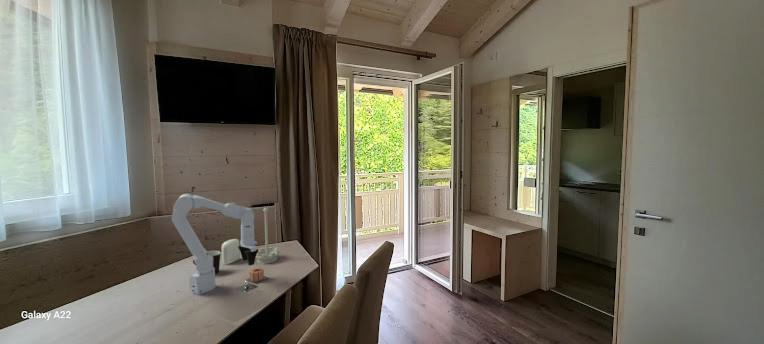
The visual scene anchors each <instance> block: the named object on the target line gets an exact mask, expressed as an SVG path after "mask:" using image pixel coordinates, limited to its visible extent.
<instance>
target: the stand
mask: <svg viewBox="0 0 764 344" xmlns="http://www.w3.org/2000/svg"><path fill="white" fill-rule="evenodd" d="M258 287H259V286H258V285H257V284H254V283H251V282H249V281H248V280H247V279H245V280H244V284H243V285H241V286H238V287H236V288H235V290H237V291H238V292H243V293H244V294H245V293H247V292H250V291H252V290H254V289H257V288H258Z"/></svg>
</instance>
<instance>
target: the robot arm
mask: <svg viewBox="0 0 764 344" xmlns="http://www.w3.org/2000/svg"><path fill="white" fill-rule="evenodd" d="M193 207H194V209H198V208H207V209H212V210H215V211H219V212H222V214H223V215H224V216H226V217H229V218H230V217H231V218H233V219H239V220H240V222H241V224H240V240H239V245H240V246H238V248H239V250H240V256H241V257H242V258H241V259H242V261H243V262H245V261H247V263H248V266H254V265H255V262H256V259H257V258H256V255H257V253H258V251H259V248H257V246H256V245H257V244H258V242H257V241H256V240H255V223H254V222H255V217H256V216H255V213H254V211H253V209H251V208H250V207H248V206H247V207H246V206H244V205H243V206H241V205H237V204H236V203H235V202H231V203H230V202H228V203H225V204H224V203H222V202H218V201H216V200H212V199H210V198H206V197H204V196H199V195H196V194H191V193H183V194H181V195H180V196H179V197H178V198H177V200H176V201H175V202H174V204H173V207H172V216H171V222H172V223H173V225H174V227H175V228H176V230H177V232H178V234H179V235H180V237H181V238H182V240H183V242H184V244H185V245H186V247H187V248H188V250H189V251H190V253H191V255H192V258H193V260H194V262H195V263H196V265H195V267H196V270H195V273H194V274H193V275H190V277H189V293H192V294H193V295H196V296H199V295H201V294H202V295H203V294H205V293H207V292H211V291H213V290H215V288H216V274H215V268H214V267H213V260H214V258H213V256H212V255H211V254H209V253H208V252H209V251H207V249H206V248H205V247H204V245H203V244H202V243H201V241H200V239H199V237H198V236H197V234H196V232H195V230H194V229H193V228H192V226H191V224H190V222H189V220H188V218H187V216H188V213H189V212H190V211H191V210H192V209H193Z"/></svg>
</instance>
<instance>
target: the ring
mask: <svg viewBox="0 0 764 344" xmlns="http://www.w3.org/2000/svg"><path fill="white" fill-rule="evenodd" d="M264 271H265V270H264V268H263V267H255V268H252V269H250V271H249V278H250V280H251V281H260V280H262V279H264V276H265V273H264Z"/></svg>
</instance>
